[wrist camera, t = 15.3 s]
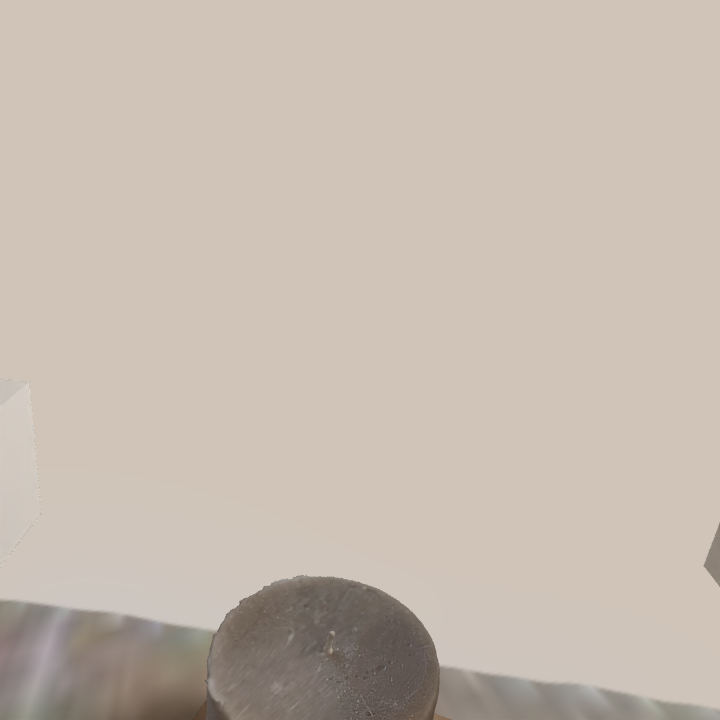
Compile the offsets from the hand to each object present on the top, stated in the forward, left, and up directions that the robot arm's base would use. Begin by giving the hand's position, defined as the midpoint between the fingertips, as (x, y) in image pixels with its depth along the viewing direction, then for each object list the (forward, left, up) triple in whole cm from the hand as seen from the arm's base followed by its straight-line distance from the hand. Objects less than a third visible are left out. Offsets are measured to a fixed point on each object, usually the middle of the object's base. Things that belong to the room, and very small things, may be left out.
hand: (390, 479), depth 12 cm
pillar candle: (+3, -9, -28) cm, 30 cm away
